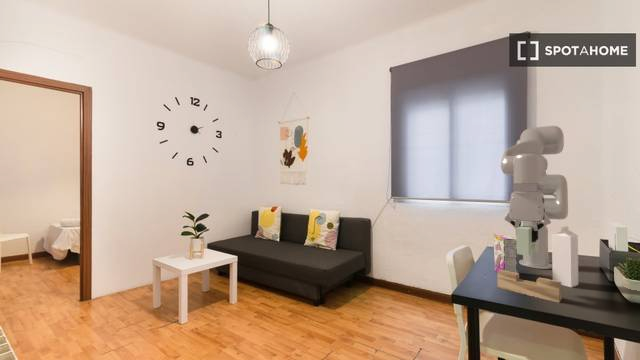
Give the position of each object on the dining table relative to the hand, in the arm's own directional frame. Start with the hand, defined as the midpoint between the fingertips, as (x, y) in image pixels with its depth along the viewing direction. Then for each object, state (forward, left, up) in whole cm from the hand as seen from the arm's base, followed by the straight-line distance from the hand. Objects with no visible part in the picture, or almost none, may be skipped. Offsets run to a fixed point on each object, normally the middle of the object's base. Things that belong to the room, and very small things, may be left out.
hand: (527, 240), depth 103 cm
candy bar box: (-17, -12, -19) cm, 28 cm away
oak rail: (0, 0, -19) cm, 19 cm away
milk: (-22, +7, -19) cm, 30 cm away
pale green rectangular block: (0, 0, -4) cm, 4 cm away
